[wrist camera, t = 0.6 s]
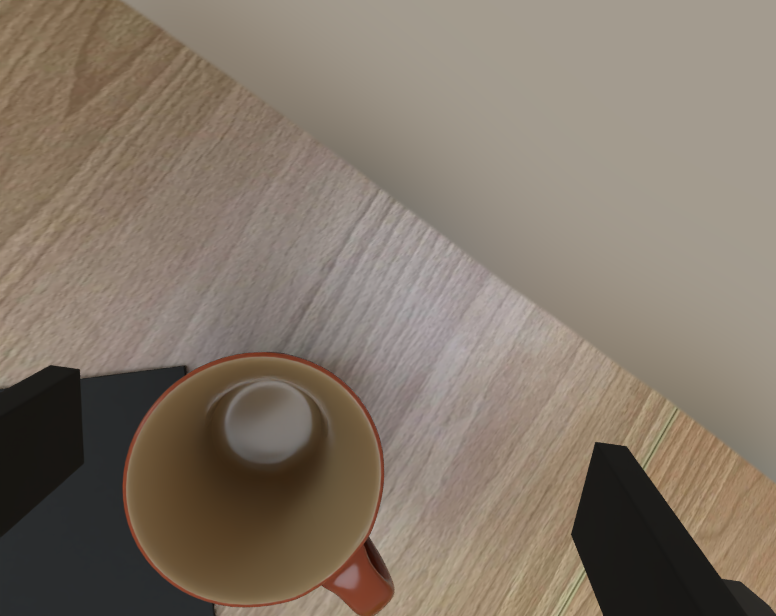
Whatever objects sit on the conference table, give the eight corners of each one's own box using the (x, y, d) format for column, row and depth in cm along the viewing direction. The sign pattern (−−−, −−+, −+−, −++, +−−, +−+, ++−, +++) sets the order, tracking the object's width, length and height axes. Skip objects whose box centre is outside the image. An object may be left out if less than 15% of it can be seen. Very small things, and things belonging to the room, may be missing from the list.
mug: (146, 408, 28) (61, 469, 17) (283, 303, 29) (281, 300, 19) (293, 577, 29) (297, 729, 19) (416, 470, 31) (484, 554, 20)
